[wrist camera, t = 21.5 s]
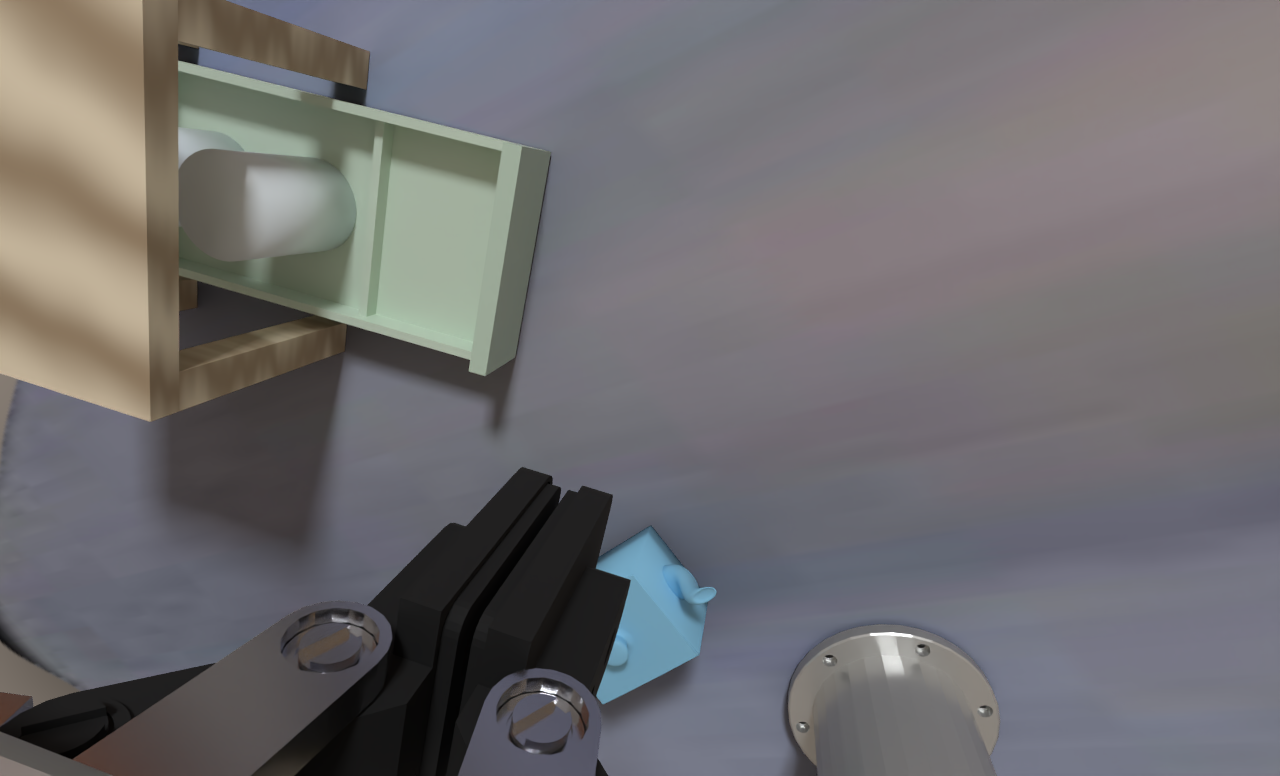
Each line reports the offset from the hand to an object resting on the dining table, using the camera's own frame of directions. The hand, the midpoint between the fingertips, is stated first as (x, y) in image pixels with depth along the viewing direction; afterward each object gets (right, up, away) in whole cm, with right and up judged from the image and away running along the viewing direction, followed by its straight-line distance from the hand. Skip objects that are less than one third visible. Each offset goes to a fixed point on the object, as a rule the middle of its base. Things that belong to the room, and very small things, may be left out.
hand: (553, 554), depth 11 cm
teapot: (+2, -9, +31) cm, 33 cm away
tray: (-16, +14, +28) cm, 35 cm away
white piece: (-18, +14, +27) cm, 35 cm away
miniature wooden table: (-22, +15, +29) cm, 39 cm away
